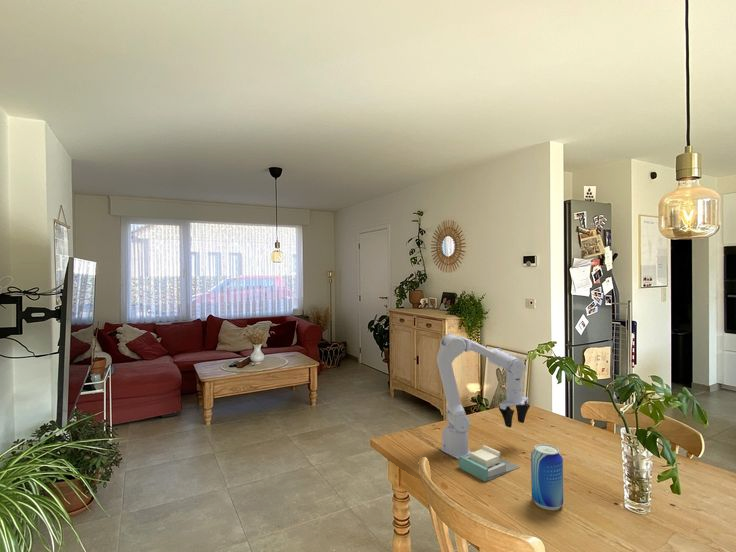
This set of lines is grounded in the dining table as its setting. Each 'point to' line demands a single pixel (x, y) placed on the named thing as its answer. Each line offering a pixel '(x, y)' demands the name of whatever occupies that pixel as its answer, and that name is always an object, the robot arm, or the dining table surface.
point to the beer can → (547, 477)
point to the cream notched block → (486, 456)
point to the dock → (485, 472)
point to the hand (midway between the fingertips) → (514, 424)
